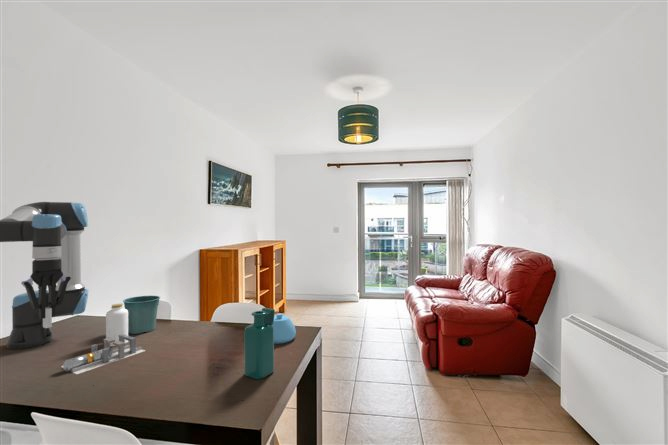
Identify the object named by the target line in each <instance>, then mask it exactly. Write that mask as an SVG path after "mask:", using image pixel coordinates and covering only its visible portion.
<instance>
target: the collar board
mask: <svg viewBox="0 0 668 445" xmlns="http://www.w3.org/2000/svg"><path fill="white" fill-rule="evenodd" d="M125 340H128V342H129V344H128V345H125V344H126V343H125ZM136 341H137V338H136V337H134V336H130V335H128V336H127V335H124V334H121V335H119V341H115V339H112V338H106V337H105V338H103V348H101V349H102V359H101V360H98V361H95V362H92V363H89V364H86V365H83V366H80V367H77V368H74V369H72V370H71V371H70V372H71V373H73V374H75V375H79V374H82V373H85V372H89V371H91V370H94V369H97V368H100V367H102V366H105V365H108V364H112V363H115V362H118V361H121V360H123V359H126V358H129V357H131V356H135V355H138V354H141V353H143V352H146V350H145V349H143V347H142V346H139V347H136V346H137V343H136ZM112 342H113V345H116V346H115V347H117V348H115V349H111V346H110V343H112ZM98 346H99V345H98V344H91V346H90V347H91V352H94V351H98V348H99V347H98ZM108 347H109V348H110V349H111V351H112V355H111V357H109V349H108ZM104 348H105V349H104ZM91 352H90V353H91ZM60 367H61V368H62V369H64V367H63V365H61V366H60Z"/></svg>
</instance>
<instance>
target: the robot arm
mask: <svg viewBox="0 0 668 445" xmlns="http://www.w3.org/2000/svg"><path fill="white" fill-rule="evenodd" d="M87 227H89V222H88V215H87V210H86V206H85V205H84V204H83V203H81V202H73V201H70V202H67V201H65V202H63V201H58V202H57V201H56V202H55V201H54V202H53V201H39V202H36V201H35V202H32V203H31V202H30V203H27V204H24V205H21V206H18V207H17V208H15V209H14V210H13V211H12V212H11V214H9V215H8V216H6V217H3V218H1V219H0V243H8V242H10V243H12V242H16V243H17V242H32V247H31V248H32V252H31V254H32V256H31V257H32V259H33V260H32V261H31V263H32V264H31V267H32V268H31V269H32V273H31V274H30V277H29V278H28V279H27V280H25V281H21V285H22V286H23V287H24V288H25V291H26V292H23V293H20V294H18V295H15V296H14V297H13V299H12V306H11V309H12V310H11V311H12V318H11V319H12V329H11V332H10V335H9V337H8V339H7V341H6V348H7V349H8V350H21V349H27V348H28V349H29V348H32V347H37V346H42V345H44V344H46V343H49V342H51V341H52V340H53V338H54V337H53V333H52V330H51V328H52V326H53V324H52V323H53V322H52V321H53V318H59V317H65V316H66V317H67V316H74V315H79V314H83V313H84V312H85V311H86V308H87V303H88V297H89V289H88V288H86V287H85V286H86V285H84V283H82V280H81V278H82V276H81V272H82V271H81V269H82V268H81V267H82V266H81V265H82V264H81V234H82V233H83V232H84V231H85V228H87ZM33 282H34V283H33ZM34 284H36V285H37V288H38V290H35V289H34V286H33V285H34ZM47 289H48V290H47Z"/></svg>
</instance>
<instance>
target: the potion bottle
mask: <svg viewBox="0 0 668 445" xmlns="http://www.w3.org/2000/svg"><path fill="white" fill-rule="evenodd" d="M123 304H124V303H114V304H112V305H111V307H110V308H111V309H110V310H108V311H107V312H106V313H105V339H106V338H112V339H115V341H119V335H121V334H124V335H127V336H129V332H128V310H127V309H125V307H124V305H123ZM127 343H129V341H128V340H125V344H127ZM110 347H117V346H116V345H113V342H112V343H110Z"/></svg>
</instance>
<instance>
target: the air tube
mask: <svg viewBox="0 0 668 445" xmlns="http://www.w3.org/2000/svg"><path fill="white" fill-rule="evenodd" d="M102 349H105V348H104V347H103V348H101V349H99V350H98V351H94V352H88V353H84V354H82V355H78V356H75V357H71V358H69V359H65V360H64V361H63V364H62V366H63V367H64V368H63V367H62V368H63V371H64V372H67V373H68V372H71V370H72V369H74V368H77V367H80V366H83V365H86V364H89V363H92V362H95V361H98V360H101V359H102ZM108 349H109V357H111V355H112V351H111V350H112V349H111V347H110V348H109V347H108Z"/></svg>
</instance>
